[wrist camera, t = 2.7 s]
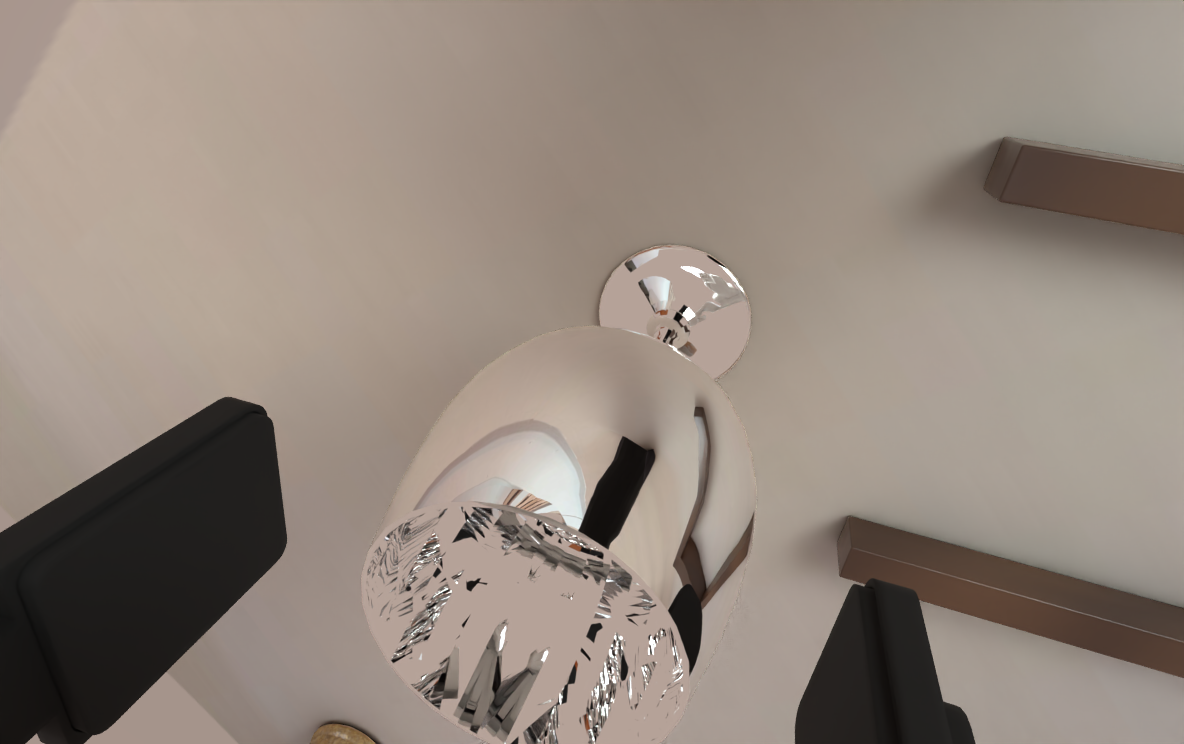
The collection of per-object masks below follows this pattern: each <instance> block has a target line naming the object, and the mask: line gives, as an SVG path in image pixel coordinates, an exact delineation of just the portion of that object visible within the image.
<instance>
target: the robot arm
mask: <svg viewBox="0 0 1184 744" xmlns="http://www.w3.org/2000/svg"><path fill="white" fill-rule="evenodd" d="M286 544H287V533H286V525H285V517H284V508H283V500H282V492H281V484H280V475H279V467H278V459H277V451H276V442H275V434H274V426H273V422H272V420H271V419H270V418H269V417H268V416H267V413H266V410H265V409H264V408H263V407H262V406H260V405H257V404H253V403H250V402H246V401H243V400H239V399H236V398H232V397H224V398H222V399H220V400H218V401H216V402H214V403H213V404H211V405H209V406H208V407H206V408H205V409H203V410H201V411H200V412H198V413H196V414H195V415H193V416H191V417H190V418H188V419H186V420H185V421H183V422H181V423H180V424H178V425H177V426H175V427H173V428H172V429H170V430H168V431H167V432H165V433H163V434H162V435H160V436H158V437H157V438H155V439H154V440H152V441H150V442H149V443H147V444H145V445H144V446H142V447H140V448H139V449H137V450H135V451H134V452H132V453H131V454H129V455H127V456H126V457H124V458H122V459H121V460H119V461H117V462H116V463H114V464H112V465H111V466H109V467H108V468H106V469H104V470H103V471H101V472H99V473H98V474H96V475H94V476H93V477H91V478H89V479H88V480H86V481H85V482H83V483H81V484H80V485H78V486H76V487H75V488H73V489H71V490H70V491H68V492H66V493H65V494H63V495H62V496H60V497H58V498H57V499H55V500H53V501H52V502H50V503H48V504H47V505H45V506H43V507H42V508H40V509H39V510H37V511H35V512H34V513H32V514H30V515H29V516H27V517H25V518H24V519H22V520H20V521H19V522H17V523H16V524H14V525H12V526H11V527H9V528H7V529H6V530H4V531H3V532H1V533H0V744H25V743H26V742H28V741H29V740H30V739H31V738H32V737H33V736H34V735H35V734H36V733H37V734H38V737H39V739H40V741H41V742H42V743H45V744H84V743H85V742H86V741H87V740H88V739H89V738H90V737H91V736H92V735H97V734H100V733H102V732H104V731H105V730H107V729H108V728H109V727H111V726H112V725H113V724H114V723H115V722H116V721H117V720H118V719H119V718H120V717H121V716H122V715H123V714H124V713H125V712H126V711H127V710H128V709H129V708H130V707H131V706H132V705H133V704H134V703H135V702H136V701H137V700H138V699H139V698H140V697H141V696H142V695H143V694H144V693H145V692H146V691H147V690H148V689H149V688H150V687H151V686H152V685H153V684H154V683H155V682H156V681H157V680H158V679H159V678H160V677H161V676H162V675H163V674H164V673H165V672H166V671H167V670H168V669H169V668H170V667H171V666H172V665H173V664H174V663H175V662H176V661H177V660H178V659H179V658H180V657H181V656H182V655H183V654H184V653H186V652H187V651H188V650H189V649H190V648H191V647H192V646H193V645H194V644H195V643H196V642H197V641H198V640H199V639H200V638H201V637H202V636H203V635H204V634H205V633H206V632H207V631H208V630H209V629H210V628H211V627H212V626H213V625H214V624H215V623H216V622H217V621H218V620H219V619H220V618H221V617H222V616H223V615H224V614H225V613H226V612H227V611H228V610H229V609H230V608H231V607H232V606H233V605H234V604H235V603H236V602H237V601H238V600H239V599H240V598H241V597H242V596H243V595H244V594H245V593H246V592H247V591H248V590H249V589H250V588H251V587H252V586H253V585H254V584H255V583H256V582H257V581H258V580H259V579H260V578H261V577H262V576H263V575H264V574H265V573H266V572H267V571H268V570H269V569H270V568H271V567H272V566H273V565H274V564H275V563H276V562H277V561H278V560H279V559H280V557H281V556H282V554H283V552H284V550H285V548H286ZM795 744H975V740H974V736H973V733H972V729H971V726H970V723H969V721H968V718H967V715H966V714H965V713H964V711H963V710H962V709H961V708H960V707H958V706H955V705H952V704H949V703H946V702H943V699H942V695H941V691H940V687H939V682H938V678H937V674H936V670H935V665H934V661H933V657H932V653H931V649H930V644H929V640H928V636H927V632H926V627H925V623H924V619H923V615H922V610H921V606H920V602H919V598H918V595H917V593H916V592H915V591H914V590H913V589H910V588H906V587H903V586H899V585H896V584H892V583H889V582H885V581H881V580H878V579H874V578H870V579H869V580H868V581H867V583H866V585H865V587H864V586H860V585H857V584H853V585H852V586H851V588H850V590H849V592H848V595H847V597H846V599H845V601H844V604H843V606H842V608H841V610H840V613H839V615H838V617H837V620H836V622H835V624H834V626H833V629H832V631H831V633H830V635H829V638H828V640H827V642H826V645H825V647H824V649H823V651H822V654H821V656H820V658H819V660H818V663H817V665H816V667H815V670H814V672H813V674H812V676H811V679H810V681H809V683H808V685H807V688H806V690H805V692H804V695H803V697H802V699H801V701H800V704H799V707H798V711H797V716H796V723H795Z"/></svg>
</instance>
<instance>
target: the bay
mask: <svg viewBox="0 0 1184 744" xmlns="http://www.w3.org/2000/svg"><path fill="white" fill-rule="evenodd" d="M984 190H986V191H987V192H988V193H989V194H991V195H992V196H993V197H995V198H996V199H997V200H999V201H1000V202H1004V203H1009V204H1015V205H1020V206H1026V207H1032V208H1037V209H1043V210H1048V211H1054V212H1059V213H1065V214H1070V215H1076V216H1082V217H1087V218H1093V219H1098V220H1104V221H1109V222H1115V223H1120V224H1126V225H1132V226H1137V227H1143V228H1148V229H1154V230H1159V231H1165V232H1171V233H1176V234H1182V235H1184V165H1179V164H1173V163H1167V162H1160V161H1154V160H1148V159H1142V158H1136V157H1130V156H1123V155H1117V154H1111V153H1105V152H1099V151H1092V150H1086V149H1080V148H1074V147H1068V146H1062V145H1055V144H1049V143H1043V142H1037V141H1031V140H1024V139H1018V138H1012V137H1005V138H1004V139H1003V141H1002V144H1001V146H1000V148H999V151H998V153H997V156H996V158H995V161H994V163H993V165H992V168H991V170H990V173H989V175H988V178H987V180H986V182H985V185H984ZM837 550H838V565H839V576H840V577H843V578H846V579H850V580H853V581H856V582H860V583H863V584H866V583H867V581H868V580H869V579H870V578H874V579H878V580H881V581H885V582H889V583H892V584H896V585H899V586H903V587H906V588H910V589H913V590H914V591H915V592H916V593H917V595H918V598H919V600H921V601H924V602H927V603H931V604H934V605H938V606H941V607H944V608H948V609H951V610H955V611H958V612H961V613H965V614H968V615H972V616H975V617H978V618H982V619H985V620H988V621H992V622H995V623H999V624H1002V625H1005V626H1009V627H1012V628H1016V629H1019V630H1022V631H1026V632H1029V633H1033V634H1036V635H1039V636H1043V637H1046V638H1049V639H1053V640H1056V641H1060V642H1063V643H1066V644H1070V645H1073V646H1077V647H1080V648H1083V649H1087V650H1090V651H1094V652H1097V653H1100V654H1104V655H1107V656H1110V657H1114V658H1117V659H1121V660H1124V661H1127V662H1131V663H1134V664H1138V665H1141V666H1144V667H1148V668H1151V669H1155V670H1158V671H1161V672H1165V673H1168V674H1171V675H1175V676H1178V677H1182V678H1184V609H1183V608H1180V607H1176V606H1173V605H1169V604H1165V603H1162V602H1158V601H1155V600H1151V599H1147V598H1144V597H1140V596H1137V595H1133V594H1129V593H1126V592H1122V591H1118V590H1115V589H1111V588H1108V587H1104V586H1100V585H1097V584H1093V583H1090V582H1086V581H1082V580H1079V579H1075V578H1072V577H1068V576H1064V575H1061V574H1057V573H1053V572H1050V571H1046V570H1043V569H1039V568H1035V567H1032V566H1028V565H1025V564H1021V563H1017V562H1014V561H1010V560H1007V559H1003V558H999V557H996V556H992V555H988V554H985V553H981V552H978V551H974V550H970V549H967V548H963V547H960V546H956V545H952V544H949V543H945V542H942V541H938V540H934V539H931V538H927V537H923V536H920V535H916V534H913V533H909V532H905V531H902V530H898V529H895V528H891V527H887V526H884V525H880V524H877V523H873V522H869V521H866V520H862V519H859V518H855V517H851V516H849V517H848V519H847V521H846V523H845V526H844V528H843V531H842V533H841V536H840V538H839V540H838V543H837Z"/></svg>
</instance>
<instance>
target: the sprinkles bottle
mask: <svg viewBox="0 0 1184 744" xmlns="http://www.w3.org/2000/svg"><path fill="white" fill-rule="evenodd" d="M310 744H376V743H375V742H374V741H372V740H371V739H370V738H369V737H368V736H367V735H365V734H364V733H362V732H360V731H358V730H356V729H354V728H352V727H350V726H346V725H340V724H328V725H324V726H321V727H319V729H318V730H317V731H316V732H315V733H314V734H313V737H312V739H311V742H310Z"/></svg>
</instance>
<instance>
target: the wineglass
mask: <svg viewBox="0 0 1184 744" xmlns="http://www.w3.org/2000/svg"><path fill="white" fill-rule="evenodd" d="M599 322H600V326H592V325H588V326H577V327H569V328H562V329H559V330H555V331H552V332H548V333H545V334H541V335H539V336H537V337H534V338H532V339H530V340H528V341H526V342H524V343H522V344H520V345H518V346H516V347H514V348H512V349H511V350H509V351H508V352H506V353H505V354H503V355H501V356H500V357H498V358H497V359H495V360H493V361H492V362H491V363H489V364H488V365H487V366H486V367H484V368H483V369H482V370H481V371H479V372H478V373H477V374H476V375H475V376H474V377H473V378H472V379H471V380H470V381H469V382H468V383H467V384H466V385H465V386H464V387H463V388H462V390H461V391H460V392H459V393H458V394H457V395H456V396H455V397H454V398H453V400H452V401H451V402H450V403H449V404H448V406H447V407H446V409H445V410H444V411H443V413H442V414H441V416H440V417H439V419H438V420H437V422H436V423H435V425H434V426H433V428H432V429H431V431H430V432H429V434H428V435H427V437H426V438H425V440H424V441H423V443H422V444H421V446H420V448H419V449H418V451H417V453H416V455H415V456H414V458H413V460H412V461H411V463H410V465H409V467H408V468H407V470H406V472H405V474H404V476H403V478H402V480H401V482H400V484H399V486H398V488H397V490H396V492H395V494H394V496H393V498H392V501H391V503H390V505H389V507H388V509H387V511H386V513H385V515H384V517H383V519H382V521H381V524H380V526H379V528H378V530H377V532H376V534H375V536H374V538H373V541H372V543H371V545H370V548H369V550H368V553H367V557H366V560H365V564H364V567H363V571H362V574H361V592H362V605H363V609H364V612H365V615H366V618H367V622H368V625H369V628H370V632H371V634H372V635H373V637H374V639H375V641H376V642H377V644H378V646H379V648H380V650H381V651H382V653H383V655H384V657H385V658H386V660H387V662H388V663H389V664H390V666H391V667H392V668H393V670H394V671H395V672H396V674H397V675H398V676H399V677H400V678H401V679H402V680H403V682H404V683H405V684H406V685H407V686H408V687H409V688H410V689H411V690H412V691H413V692H414V693H415V694H416V695H417V696H418V697H419V698H420V699H421V700H423V701H424V702H425V703H426V704H427V705H429V706H430V707H431V708H432V709H434V710H435V711H436V712H437V713H439V714H440V715H441V716H443V717H444V718H446V719H447V720H449V721H450V722H452V723H453V724H455V725H456V726H458V727H459V728H461V729H462V730H464V731H466V732H468V733H470V734H472V735H474V736H476V737H478V738H479V739H481V740H483V741H485V742H487V743H489V744H658V743H660V742H662V741H663V740H664V739H665V738H666V737H667V736H668V734H669V733H670V732H671V731H672V730H673V728H674V727H675V726H676V725H677V724H678V722H679V721H680V720H681V718H682V716H683V714H684V712H685V710H686V708H687V707H688V705H689V703H690V701H691V699H692V697H693V695H694V693H695V691H696V689H697V687H698V685H699V683H700V681H701V679H702V677H703V675H704V673H705V671H706V669H707V667H708V665H709V663H710V661H711V659H712V657H713V655H714V653H715V651H716V648H717V646H718V644H719V642H720V640H721V638H722V636H723V634H724V631H725V629H726V626H727V624H728V621H729V619H730V616H731V614H732V611H733V609H734V606H735V604H736V601H737V599H738V595H739V592H740V588H741V585H742V581H743V578H744V574H745V571H746V567H747V564H748V560H749V557H750V553H751V549H752V545H753V537H754V529H755V521H756V510H757V491H756V480H755V471H754V463H753V457H752V454H751V450H750V446H749V443H748V439H747V436H746V432H745V429H744V426H743V424H742V422H741V420H740V418H739V416H738V414H737V413H736V411H735V409H734V407H733V405H732V404H731V402H730V400H729V398H728V396H727V395H726V394H725V392H724V391H723V390H722V388H721V387H720V386H719V385H718V383H717V382H716V381H715V380H717V379H719V378H720V377H722V376H723V375H724V374H726V373H727V372H728V371H729V370H731V369H732V367H733V366H734V365H735V364H736V363H737V362H738V360H739V359H740V358H741V356H742V354H743V352H744V351H745V349H746V347H747V344H748V341H749V337H750V334H751V326H752V315H751V308H750V303H749V300H748V296H747V294H746V292H745V290H744V288H743V287H742V285H741V283H740V281H739V279H738V278H737V277H736V276H735V275H734V273H733V272H732V271H731V270H730V269H729V268H728V267H727V266H726V265H725V264H724V263H722V262H721V261H719V260H718V259H716V258H715V257H713V256H712V255H710V254H709V253H706V252H704V251H701V250H698V249H695V248H693V247H689V246H681V245H673V244H671V245H661V246H654V247H651V248H648V249H645V250H642V251H639V252H637V253H635V254H634V255H632V256H631V257H629V258H627V259H626V260H624V261H623V262H622V263H621V264H620V265H619V266H618V267H617V268H616V269H615V270H614V271H613V273H612V274H611V276H610V277H609V279H608V280H607V282H606V284H605V287H604V289H603V292H602V294H601V299H600V305H599Z"/></svg>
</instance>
